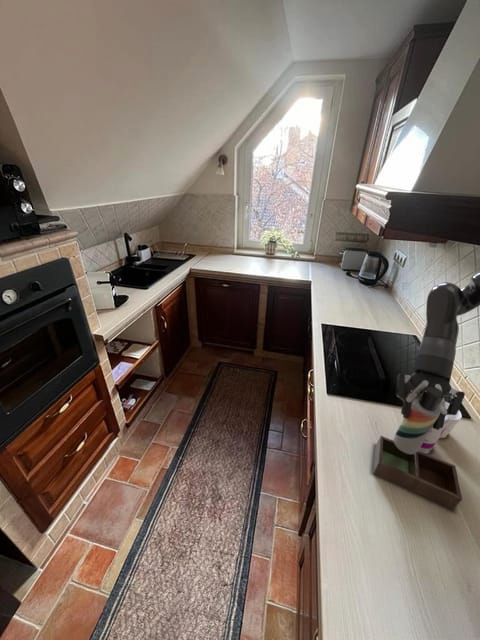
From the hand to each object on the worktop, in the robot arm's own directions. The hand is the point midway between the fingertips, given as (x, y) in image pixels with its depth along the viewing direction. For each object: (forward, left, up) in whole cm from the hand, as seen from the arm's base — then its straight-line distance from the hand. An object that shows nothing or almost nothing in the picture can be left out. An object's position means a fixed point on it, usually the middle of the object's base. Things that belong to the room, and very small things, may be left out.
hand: (420, 423), depth 61 cm
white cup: (-12, -23, -22) cm, 34 cm away
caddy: (-4, -2, -21) cm, 22 cm away
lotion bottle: (0, -2, -11) cm, 11 cm away
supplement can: (-6, -15, -22) cm, 27 cm away
